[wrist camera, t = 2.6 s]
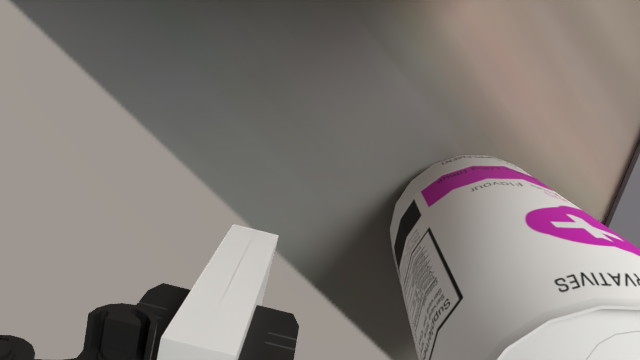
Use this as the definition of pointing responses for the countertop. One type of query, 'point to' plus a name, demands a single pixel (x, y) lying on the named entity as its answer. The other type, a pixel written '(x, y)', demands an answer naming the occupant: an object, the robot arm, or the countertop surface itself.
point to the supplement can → (511, 269)
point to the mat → (628, 205)
